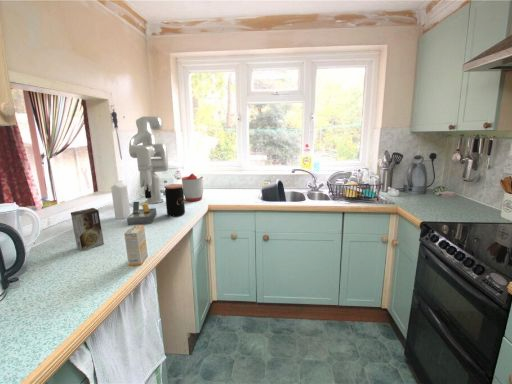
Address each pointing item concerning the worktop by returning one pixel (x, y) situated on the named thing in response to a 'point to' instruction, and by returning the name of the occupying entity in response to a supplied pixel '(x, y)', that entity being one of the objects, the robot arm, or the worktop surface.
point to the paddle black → (135, 207)
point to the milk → (120, 200)
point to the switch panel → (142, 217)
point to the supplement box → (136, 245)
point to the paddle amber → (145, 208)
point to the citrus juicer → (192, 187)
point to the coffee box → (87, 228)
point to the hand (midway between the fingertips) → (148, 197)
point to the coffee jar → (174, 200)
